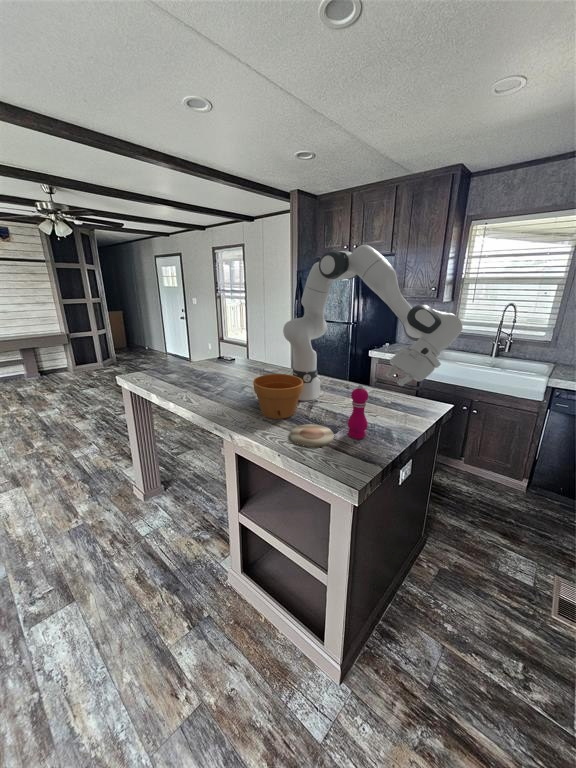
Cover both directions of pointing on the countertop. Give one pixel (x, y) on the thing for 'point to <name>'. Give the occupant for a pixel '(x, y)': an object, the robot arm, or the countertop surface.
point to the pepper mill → (358, 414)
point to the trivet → (312, 435)
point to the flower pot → (278, 394)
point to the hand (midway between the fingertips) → (393, 380)
